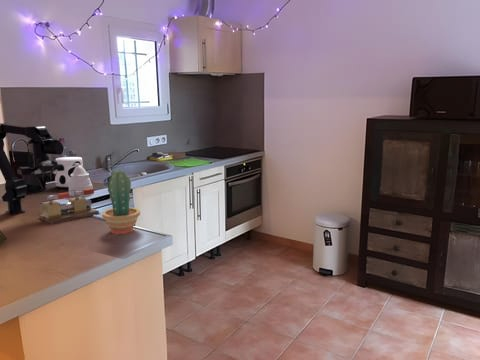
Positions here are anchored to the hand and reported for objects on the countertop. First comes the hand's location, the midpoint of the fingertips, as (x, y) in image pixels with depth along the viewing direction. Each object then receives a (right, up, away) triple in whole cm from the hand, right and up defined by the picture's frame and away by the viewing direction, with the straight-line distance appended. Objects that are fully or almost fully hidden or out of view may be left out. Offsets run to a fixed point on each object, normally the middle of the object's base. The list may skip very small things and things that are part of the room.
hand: (43, 187), depth 181 cm
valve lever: (+9, -5, -4) cm, 11 cm away
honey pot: (-1, -5, +45) cm, 45 cm away
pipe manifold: (+12, -12, +1) cm, 17 cm away
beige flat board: (+12, -13, +1) cm, 18 cm away
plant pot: (+35, -13, +3) cm, 38 cm away
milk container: (-14, -1, +64) cm, 65 cm away
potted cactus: (+42, -18, -19) cm, 49 cm away
